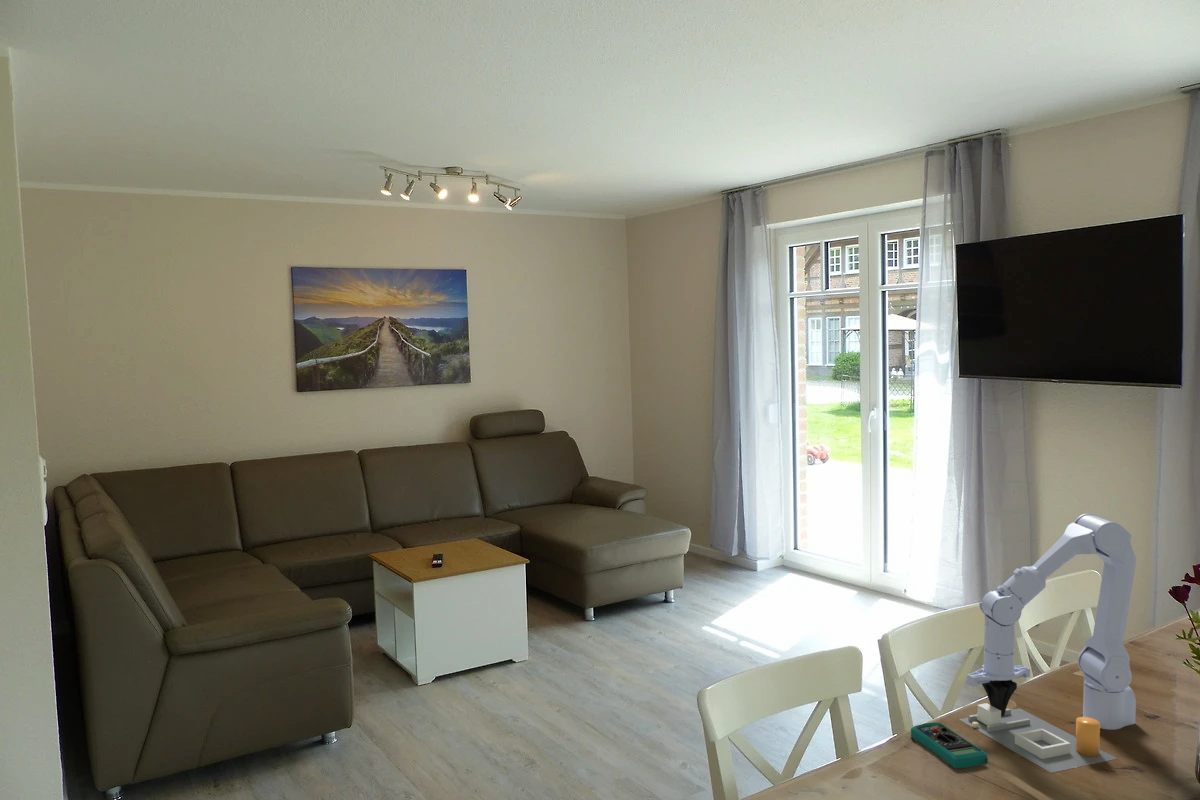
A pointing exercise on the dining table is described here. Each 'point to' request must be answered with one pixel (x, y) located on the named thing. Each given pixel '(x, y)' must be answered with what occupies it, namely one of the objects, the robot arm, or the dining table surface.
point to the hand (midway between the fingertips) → (998, 714)
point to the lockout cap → (1087, 736)
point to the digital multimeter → (948, 745)
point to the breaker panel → (1036, 741)
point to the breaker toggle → (988, 714)
